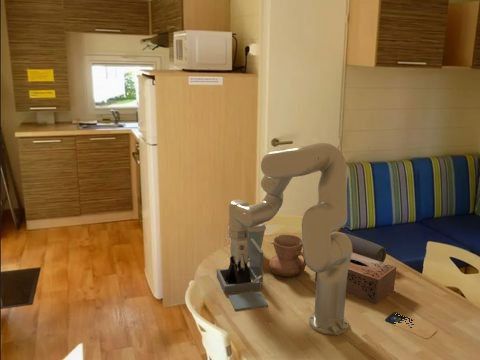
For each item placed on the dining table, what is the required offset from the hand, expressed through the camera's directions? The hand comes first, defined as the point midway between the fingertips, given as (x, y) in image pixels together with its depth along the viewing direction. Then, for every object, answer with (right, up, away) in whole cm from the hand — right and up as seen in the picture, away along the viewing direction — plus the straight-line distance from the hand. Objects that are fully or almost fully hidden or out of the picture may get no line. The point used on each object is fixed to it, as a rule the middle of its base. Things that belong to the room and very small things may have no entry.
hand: (238, 276), depth 174 cm
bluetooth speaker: (+51, +2, +23) cm, 56 cm away
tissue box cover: (+45, -4, 0) cm, 45 cm away
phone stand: (0, -3, +1) cm, 3 cm away
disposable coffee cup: (+7, +4, +26) cm, 27 cm away
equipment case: (0, -3, +1) cm, 3 cm away
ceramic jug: (+20, -1, +10) cm, 23 cm away
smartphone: (+57, -11, -26) cm, 63 cm away
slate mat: (+3, -6, -12) cm, 14 cm away
